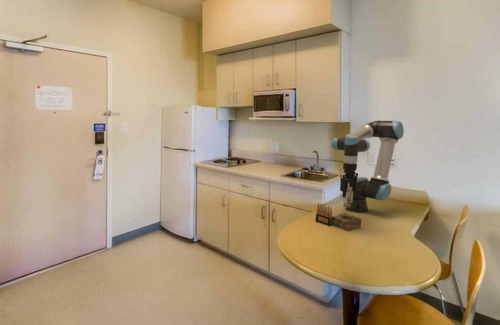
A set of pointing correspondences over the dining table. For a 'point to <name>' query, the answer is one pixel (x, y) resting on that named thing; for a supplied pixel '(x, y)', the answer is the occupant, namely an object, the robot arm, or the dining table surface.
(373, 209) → the dining table surface
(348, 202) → the peg
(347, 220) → the socket block
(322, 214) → the ammunition clip
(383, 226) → the dining table surface
